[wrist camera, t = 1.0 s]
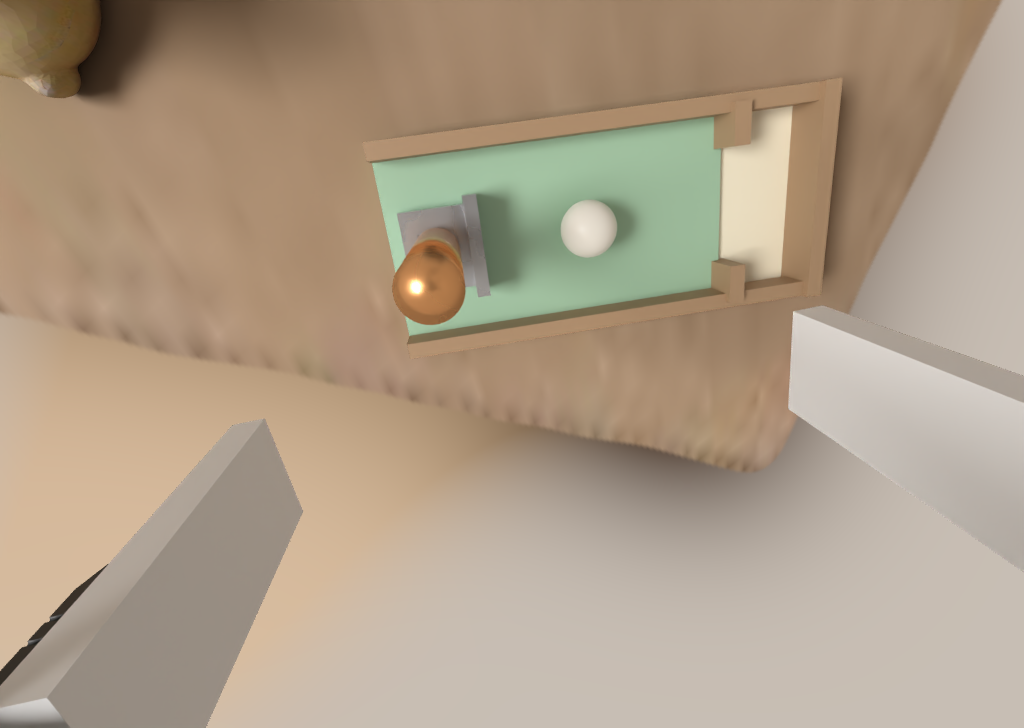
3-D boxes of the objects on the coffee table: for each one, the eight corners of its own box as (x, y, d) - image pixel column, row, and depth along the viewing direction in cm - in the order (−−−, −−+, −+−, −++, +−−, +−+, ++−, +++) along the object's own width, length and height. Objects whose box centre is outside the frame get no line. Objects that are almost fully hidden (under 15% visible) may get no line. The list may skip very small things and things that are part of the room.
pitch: (371, 146, 30) (360, 141, 26) (800, 89, 32) (842, 77, 28) (413, 344, 35) (409, 361, 31) (785, 284, 36) (820, 294, 33)
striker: (397, 204, 30) (358, 217, 18) (474, 193, 30) (489, 198, 18) (416, 298, 32) (394, 369, 20) (488, 287, 32) (510, 350, 20)
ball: (552, 202, 31) (564, 204, 28) (605, 195, 31) (623, 196, 28) (558, 257, 32) (570, 265, 29) (608, 249, 33) (626, 256, 29)
